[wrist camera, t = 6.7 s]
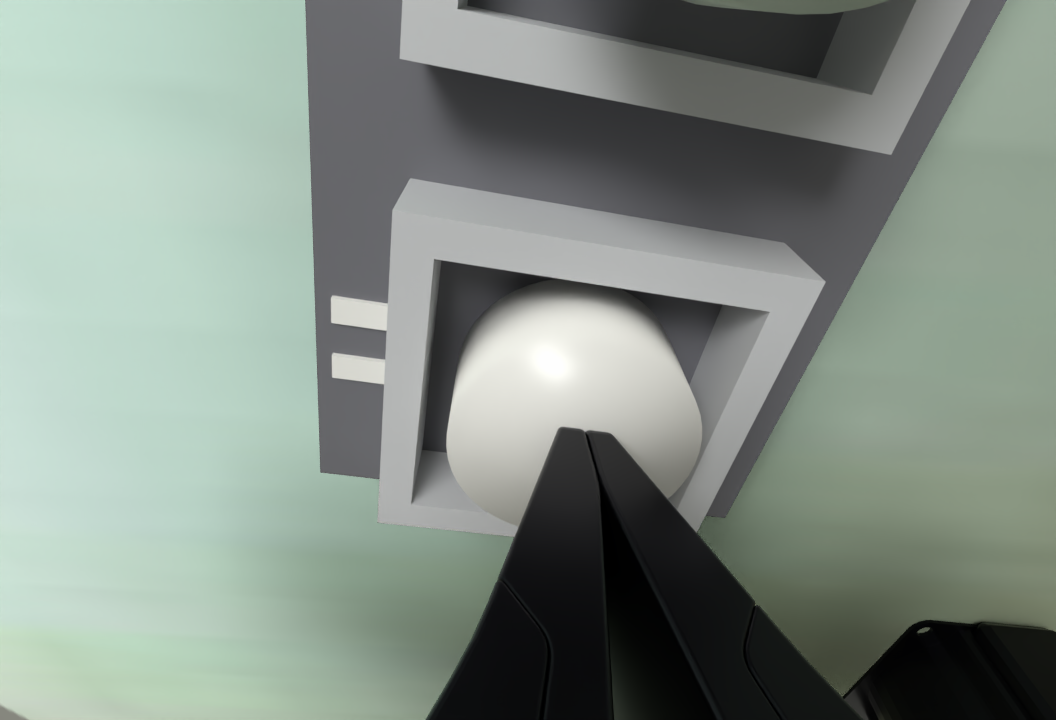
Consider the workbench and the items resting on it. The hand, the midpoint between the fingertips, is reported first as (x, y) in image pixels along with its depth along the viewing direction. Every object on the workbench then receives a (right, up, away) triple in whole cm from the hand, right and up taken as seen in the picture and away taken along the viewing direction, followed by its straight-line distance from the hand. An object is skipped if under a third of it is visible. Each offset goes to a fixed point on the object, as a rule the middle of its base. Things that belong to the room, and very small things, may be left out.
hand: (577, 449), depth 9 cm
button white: (0, +1, +2) cm, 2 cm away
